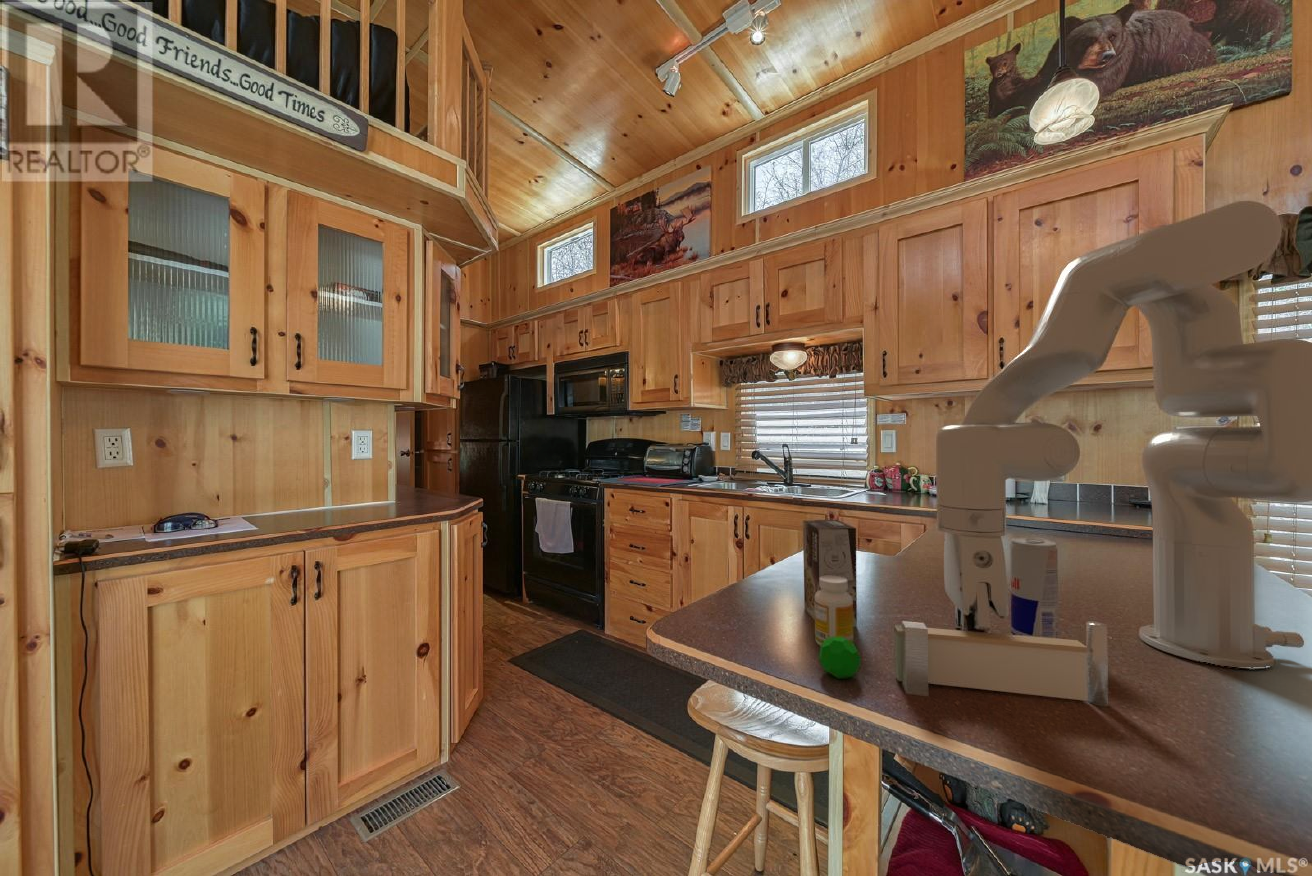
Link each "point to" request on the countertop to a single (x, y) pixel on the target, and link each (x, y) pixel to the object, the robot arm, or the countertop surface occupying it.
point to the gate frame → (918, 660)
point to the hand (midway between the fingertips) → (971, 661)
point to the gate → (1003, 662)
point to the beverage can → (1034, 587)
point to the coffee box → (828, 558)
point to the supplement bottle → (833, 609)
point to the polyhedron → (839, 657)
